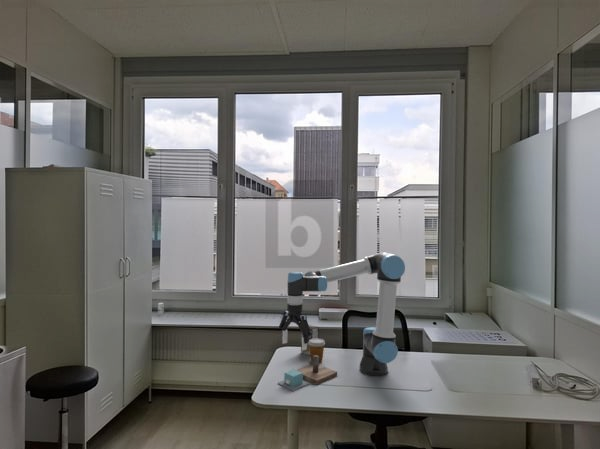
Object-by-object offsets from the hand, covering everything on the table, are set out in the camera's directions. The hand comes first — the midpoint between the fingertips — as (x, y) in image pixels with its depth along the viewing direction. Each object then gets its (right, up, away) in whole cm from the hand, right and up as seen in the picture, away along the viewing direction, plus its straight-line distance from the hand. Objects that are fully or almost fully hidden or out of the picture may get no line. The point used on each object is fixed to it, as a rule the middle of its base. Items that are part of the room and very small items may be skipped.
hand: (294, 346), depth 194 cm
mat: (0, -19, 0) cm, 19 cm away
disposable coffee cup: (+12, -19, +31) cm, 38 cm away
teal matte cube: (0, -18, 0) cm, 18 cm away
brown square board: (+11, -19, +12) cm, 24 cm away
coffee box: (+9, -18, +45) cm, 49 cm away
